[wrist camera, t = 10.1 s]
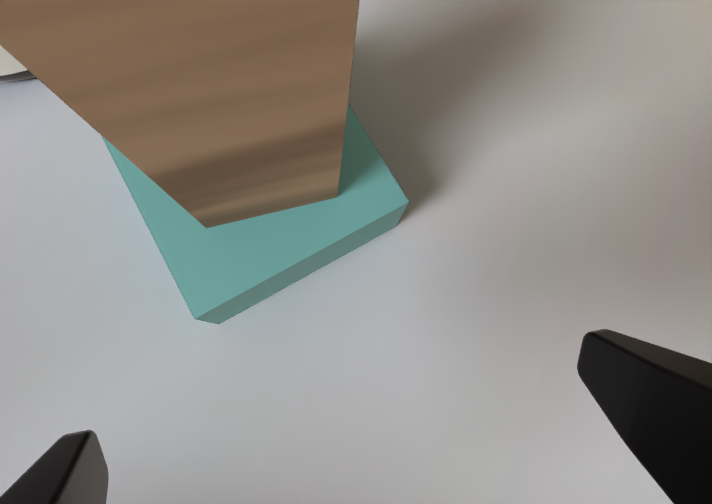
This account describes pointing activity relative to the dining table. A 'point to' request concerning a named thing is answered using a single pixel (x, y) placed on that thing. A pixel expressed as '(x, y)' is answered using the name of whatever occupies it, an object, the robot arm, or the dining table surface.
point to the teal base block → (268, 232)
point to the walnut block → (203, 91)
